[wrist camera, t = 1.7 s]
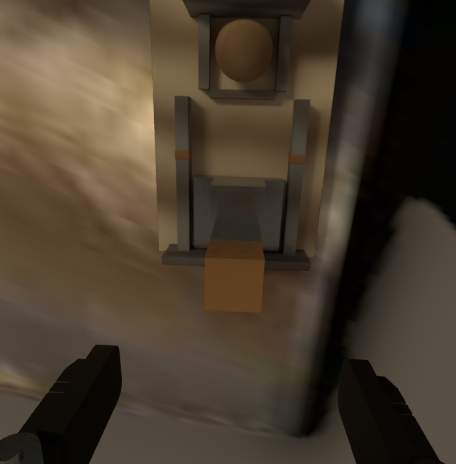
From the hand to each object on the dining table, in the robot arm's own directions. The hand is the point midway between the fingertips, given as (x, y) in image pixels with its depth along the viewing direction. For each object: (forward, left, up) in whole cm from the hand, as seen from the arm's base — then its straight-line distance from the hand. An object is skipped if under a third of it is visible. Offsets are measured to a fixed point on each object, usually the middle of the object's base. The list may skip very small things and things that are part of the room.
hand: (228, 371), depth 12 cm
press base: (-8, 0, -20) cm, 22 cm away
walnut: (-13, 0, -18) cm, 23 cm away
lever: (-1, 0, -18) cm, 18 cm away
